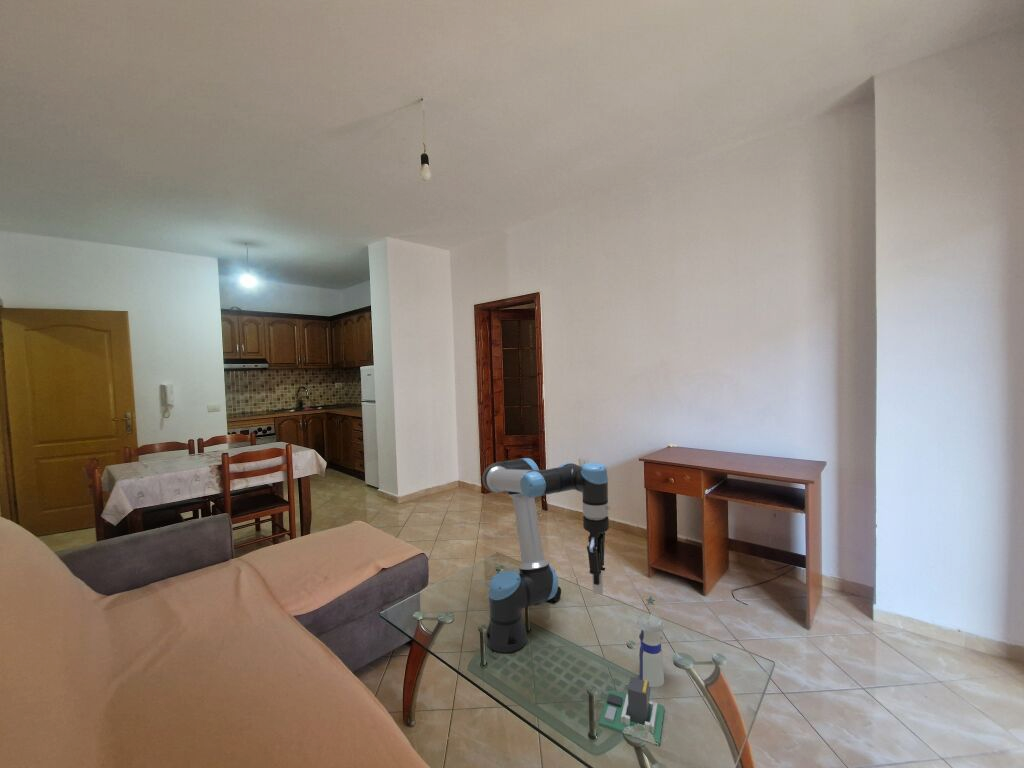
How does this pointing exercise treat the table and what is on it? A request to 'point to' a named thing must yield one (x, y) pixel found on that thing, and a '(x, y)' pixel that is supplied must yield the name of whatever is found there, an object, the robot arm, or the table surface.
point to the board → (619, 718)
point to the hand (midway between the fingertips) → (597, 592)
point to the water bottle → (651, 649)
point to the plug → (638, 700)
